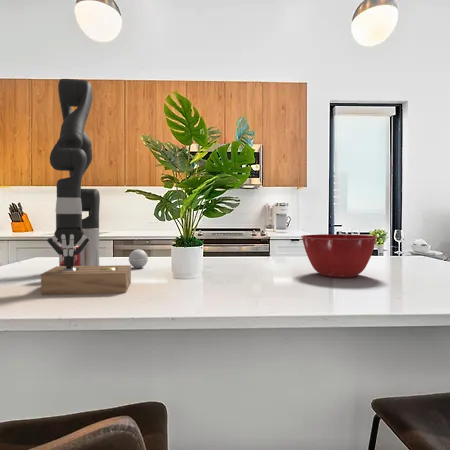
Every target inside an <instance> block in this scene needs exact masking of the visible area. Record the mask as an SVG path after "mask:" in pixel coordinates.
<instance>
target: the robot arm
mask: <svg viewBox="0 0 450 450" xmlns="http://www.w3.org/2000/svg"><path fill="white" fill-rule="evenodd" d="M57 86H58V87H57V91H58V100H59V104H60V110H61V117H62V120H63V121H62V123H61V126H60V130H59V131H60V132H59V138H58V140H57V141H56V143H55V145H54V146H53V148H52V150H51V151H50V154H49V164H50V166H51V167H52V168H53V170H55V171H58V172H59V171H60V172H61V171H63V172H68V173H69V175H68V176H69V177H64V178H60V179H58V180H57V181H56V201H55V231H54V233H53V234H54V235H53V236H51V237H50V238H47V239H46V241H47V242H48V244H49V245H50V247H52V249H53V250H54V251H55V252H56V253H57V255H59V254H61V255H63V256H64V266H65V267H66V268H73V266H74V265H75V255H77V254H79V253H81V266H100V203H101V196H100V192H99V190H98V189H96V188H82V181H83V177H84V174H85V173H86V171H87V169H88V168H89V167H90V165H91V164H92V161H93V146H92V141H91V139H90V137H89V135H88V134H87V132H86V131H85V128H86V127H85V126H86V123H87V119H88V117H89V116H90V112H91V111H90V110H91V107H92V104H93V99H94V98H93V97H94V95H93V92H94V91H93V87H92V84H91V82H90V81H89V80H87V79H76V78H75V79H74V78H61V79H59V81H58V85H57ZM73 107H76V108H74V110H73V109H72V108H73ZM83 212H89V213H90V214H89V215H88V216H86V217H85V218H83ZM57 242H59V243H60V244H61V245H62V248H63V250H62V249H61V247H60V246H61V245H59V244H58V243H57ZM76 245H80V246H79V248H78V249H77V250H76V251H75V248H76ZM69 249H70V250H69ZM69 255H70V256H69Z"/></svg>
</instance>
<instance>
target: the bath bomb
mask: <svg viewBox="0 0 450 450" xmlns="http://www.w3.org/2000/svg"><path fill="white" fill-rule="evenodd" d="M148 259H149V256H148V254H147V253H146V252H145V251H144V250H143V249H139V248H138V249H135V250H132V251H131V252H130V254H129V256H128V263H129V265H131V267H133V268H136V269H140V268H143V267H145V266H146V265H147V263H148Z"/></svg>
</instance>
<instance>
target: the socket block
mask: <svg viewBox="0 0 450 450" xmlns="http://www.w3.org/2000/svg"><path fill="white" fill-rule="evenodd" d="M73 267H76V271H63V268H66V267H65V266H59V265H58V266H55V267H53V268H51V269H48V270H47V271H44V272H43V273H40V288H41V289H40V293H41V296H42V295H77V294H78V295H80V294H81V295H82V294H83V295H84V294H85V295H86V294H90V295H91V294H120V293H121V294H126V293H127V292H128V289H129V288H130V286H131V283H132V265H131V264H128V265H125V264H124V265H122V264H121V265H99V266H73ZM105 267H115V268H116V270H103V268H105Z"/></svg>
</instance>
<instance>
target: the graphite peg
mask: <svg viewBox="0 0 450 450" xmlns="http://www.w3.org/2000/svg"><path fill="white" fill-rule="evenodd" d="M63 271H76V267H73V268H63Z"/></svg>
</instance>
